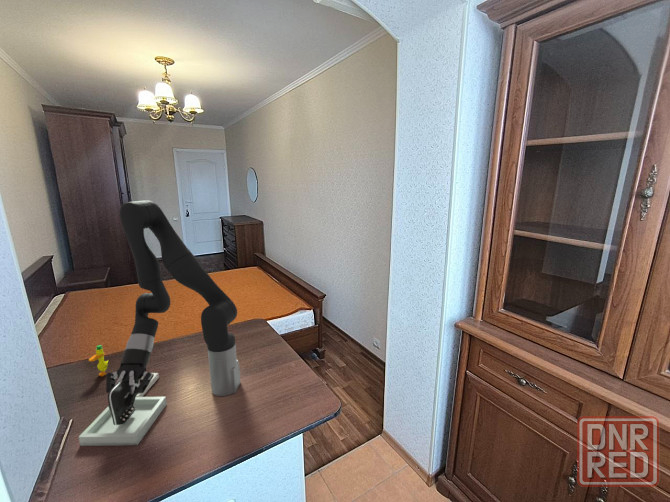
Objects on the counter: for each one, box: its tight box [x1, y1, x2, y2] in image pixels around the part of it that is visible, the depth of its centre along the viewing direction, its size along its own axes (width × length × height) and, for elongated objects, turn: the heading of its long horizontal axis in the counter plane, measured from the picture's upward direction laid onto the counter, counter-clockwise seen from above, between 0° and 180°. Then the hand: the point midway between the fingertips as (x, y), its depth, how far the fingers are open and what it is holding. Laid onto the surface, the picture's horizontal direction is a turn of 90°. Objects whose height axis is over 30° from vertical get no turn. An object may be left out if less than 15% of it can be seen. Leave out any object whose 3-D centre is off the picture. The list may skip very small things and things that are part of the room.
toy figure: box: [88, 344, 109, 377], centre depth 115 cm, size 7×4×12 cm, turn 166°
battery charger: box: [107, 381, 135, 425], centre depth 92 cm, size 7×4×11 cm, turn 2°
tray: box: [78, 396, 168, 447], centre depth 93 cm, size 16×16×3 cm
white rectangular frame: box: [136, 372, 160, 397], centre depth 109 cm, size 9×12×2 cm
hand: (119, 408), depth 90 cm, fingers open, 4 cm apart
